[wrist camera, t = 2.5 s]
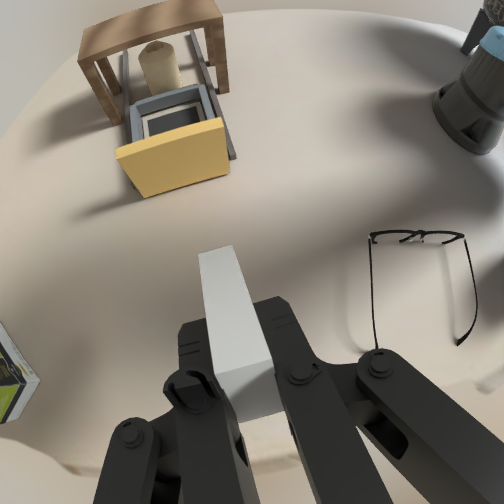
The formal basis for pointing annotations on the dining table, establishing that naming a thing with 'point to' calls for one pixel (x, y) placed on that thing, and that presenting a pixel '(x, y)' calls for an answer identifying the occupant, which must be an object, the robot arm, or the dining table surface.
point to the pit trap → (173, 119)
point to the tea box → (14, 380)
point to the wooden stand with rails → (148, 29)
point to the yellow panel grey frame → (174, 146)
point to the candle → (160, 67)
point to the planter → (484, 23)
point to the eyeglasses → (420, 241)
